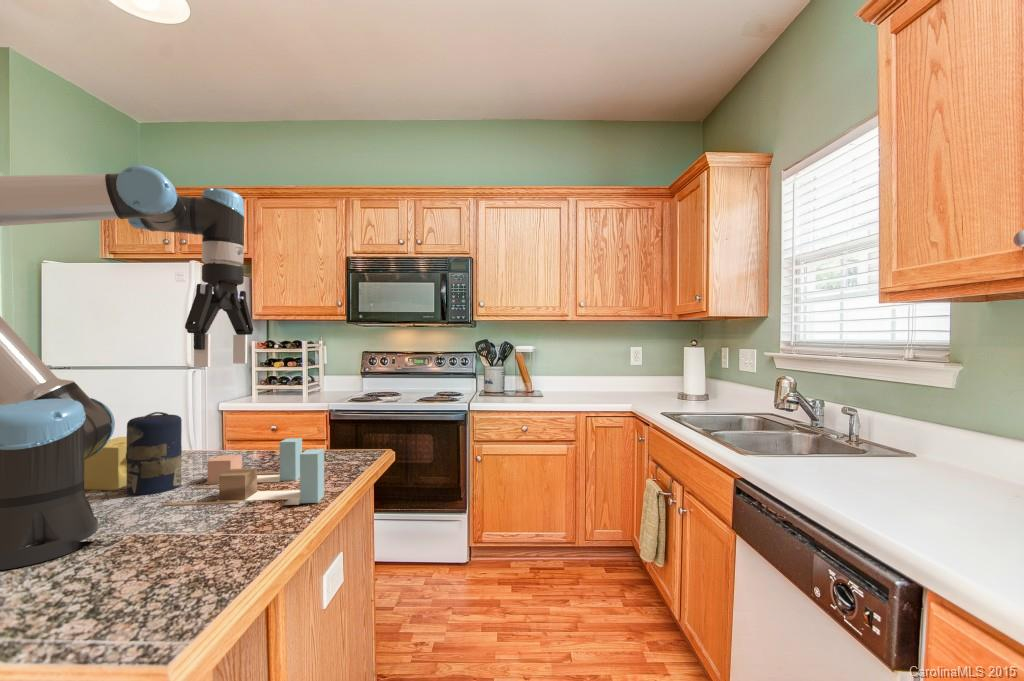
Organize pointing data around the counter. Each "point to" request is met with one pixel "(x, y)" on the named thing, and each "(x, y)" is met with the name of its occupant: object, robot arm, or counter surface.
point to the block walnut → (237, 484)
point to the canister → (153, 454)
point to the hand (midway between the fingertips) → (222, 365)
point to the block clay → (222, 466)
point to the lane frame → (215, 501)
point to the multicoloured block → (301, 482)
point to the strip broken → (285, 462)
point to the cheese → (107, 466)
